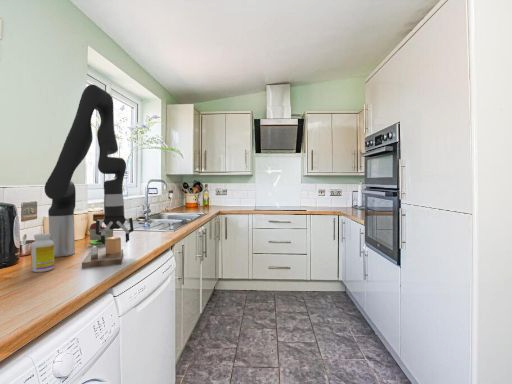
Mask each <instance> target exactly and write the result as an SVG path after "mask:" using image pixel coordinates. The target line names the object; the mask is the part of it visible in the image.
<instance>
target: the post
mask: <svg viewBox="0 0 512 384" xmlns="http://www.w3.org/2000/svg"><path fill="white" fill-rule="evenodd" d="M98 251H99V248H98V246H96V245H93V246H91V248H90V252H91V259H98Z"/></svg>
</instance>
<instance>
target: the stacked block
mask: <svg viewBox="0 0 512 384" xmlns="http://www.w3.org/2000/svg"><path fill="white" fill-rule="evenodd" d="M104 218H105V216H104V212H102V213H101V212H100V213H94V214H92V222H93V223H91V224H90V226H89V229H87V230H88V231H89V245H103V243H101V236H100V235H97V234H96V221H97V220H98V219H99V220H104ZM105 227H106V226H102V224H101V225H100V232H102V231H103V230H104V229H105ZM104 235H105V241H106V238H109V237H114V229H108V230H107V232H106V233H105V234H104Z"/></svg>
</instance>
